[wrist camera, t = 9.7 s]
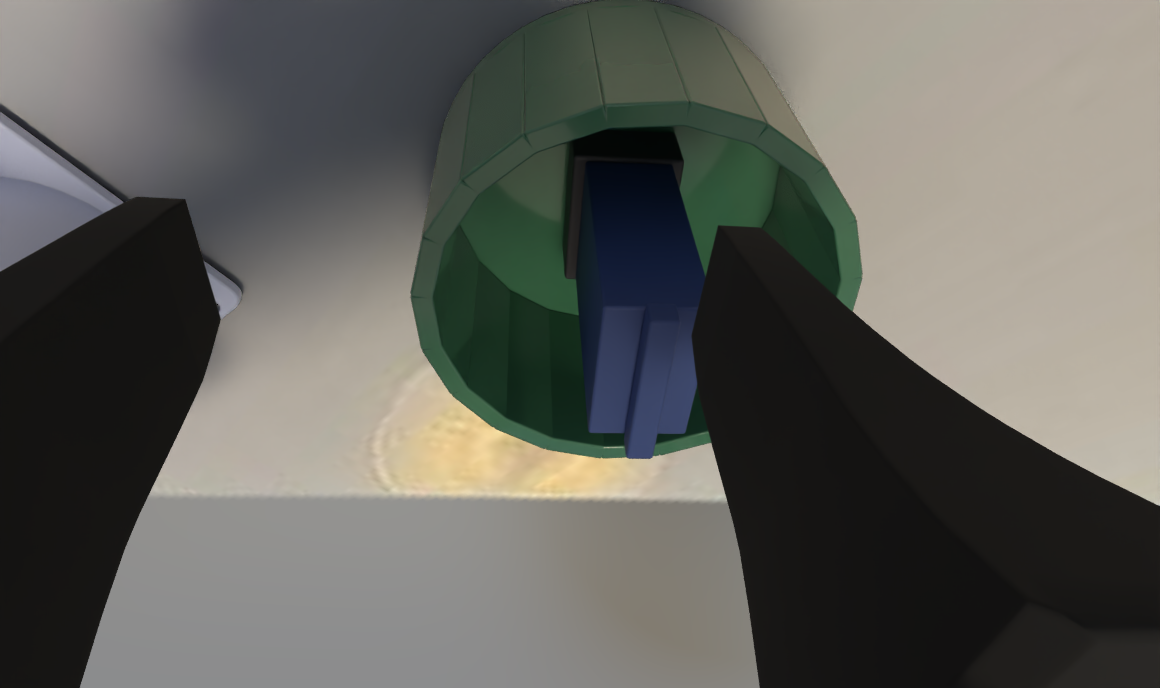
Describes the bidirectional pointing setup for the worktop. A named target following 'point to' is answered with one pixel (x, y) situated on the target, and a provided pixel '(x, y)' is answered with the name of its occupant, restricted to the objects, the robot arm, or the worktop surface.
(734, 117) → the cup
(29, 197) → the robot arm
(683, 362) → the blue block
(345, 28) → the worktop surface
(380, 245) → the worktop surface
